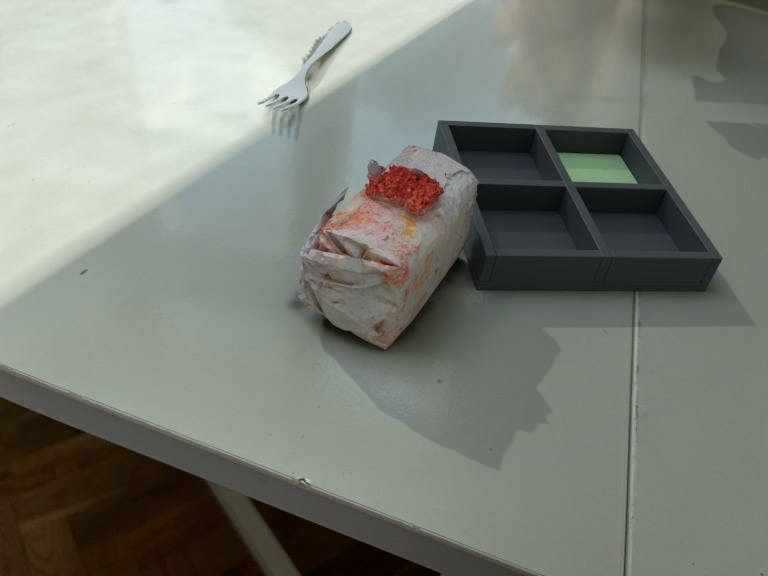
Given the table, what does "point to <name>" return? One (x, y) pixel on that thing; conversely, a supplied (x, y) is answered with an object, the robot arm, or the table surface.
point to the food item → (388, 244)
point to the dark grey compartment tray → (574, 211)
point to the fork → (297, 85)
